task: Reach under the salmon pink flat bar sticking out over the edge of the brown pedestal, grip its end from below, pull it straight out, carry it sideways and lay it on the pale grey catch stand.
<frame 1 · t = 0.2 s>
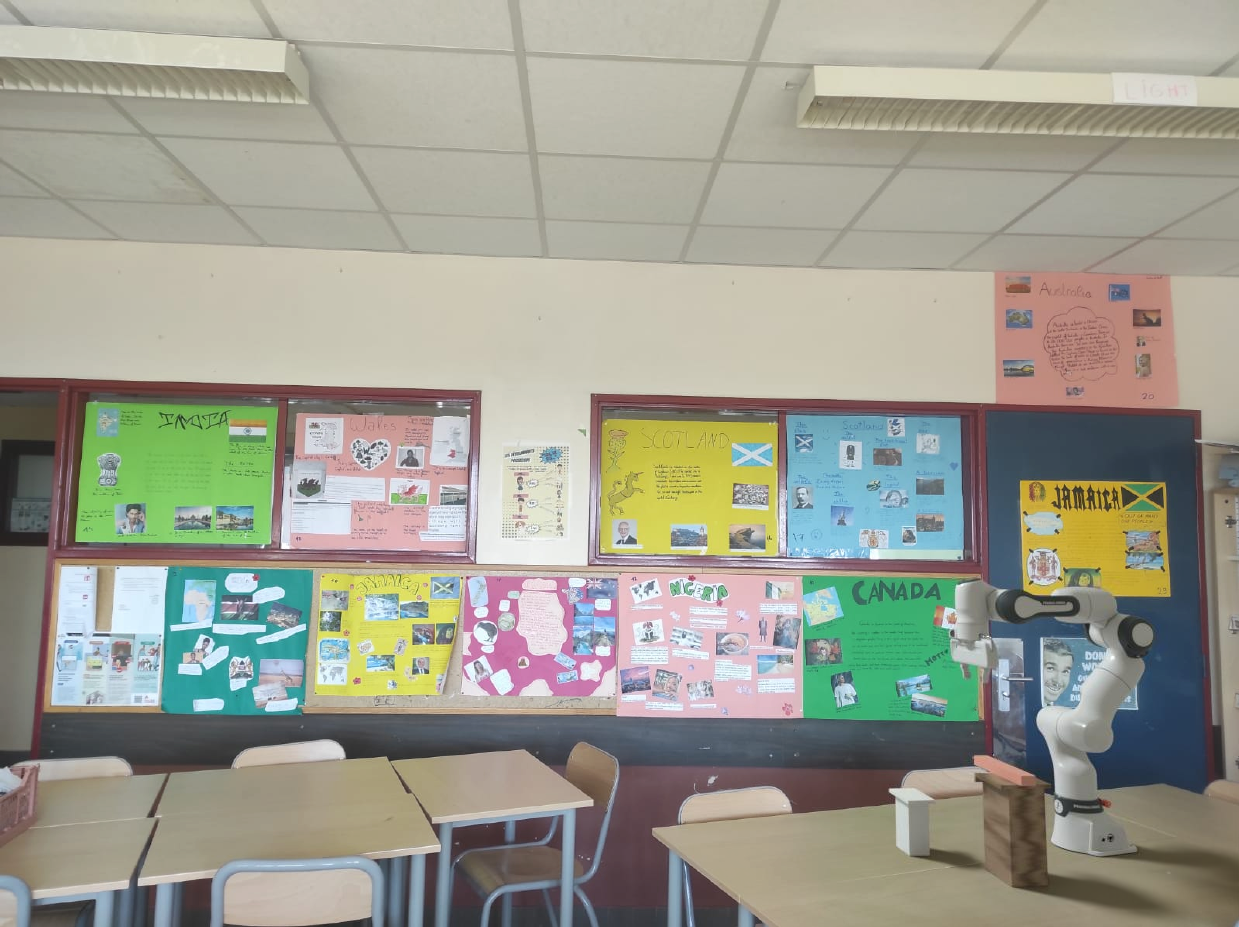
hand: (975, 680, 243), 47 cm above the table, fingers open, 8 cm apart
brown pedestal: (1015, 877, 215), on the table
salmon pink flat bar: (1003, 774, 222), point 25 cm above the table, touching brown pedestal
catch stand: (912, 850, 234), on the table
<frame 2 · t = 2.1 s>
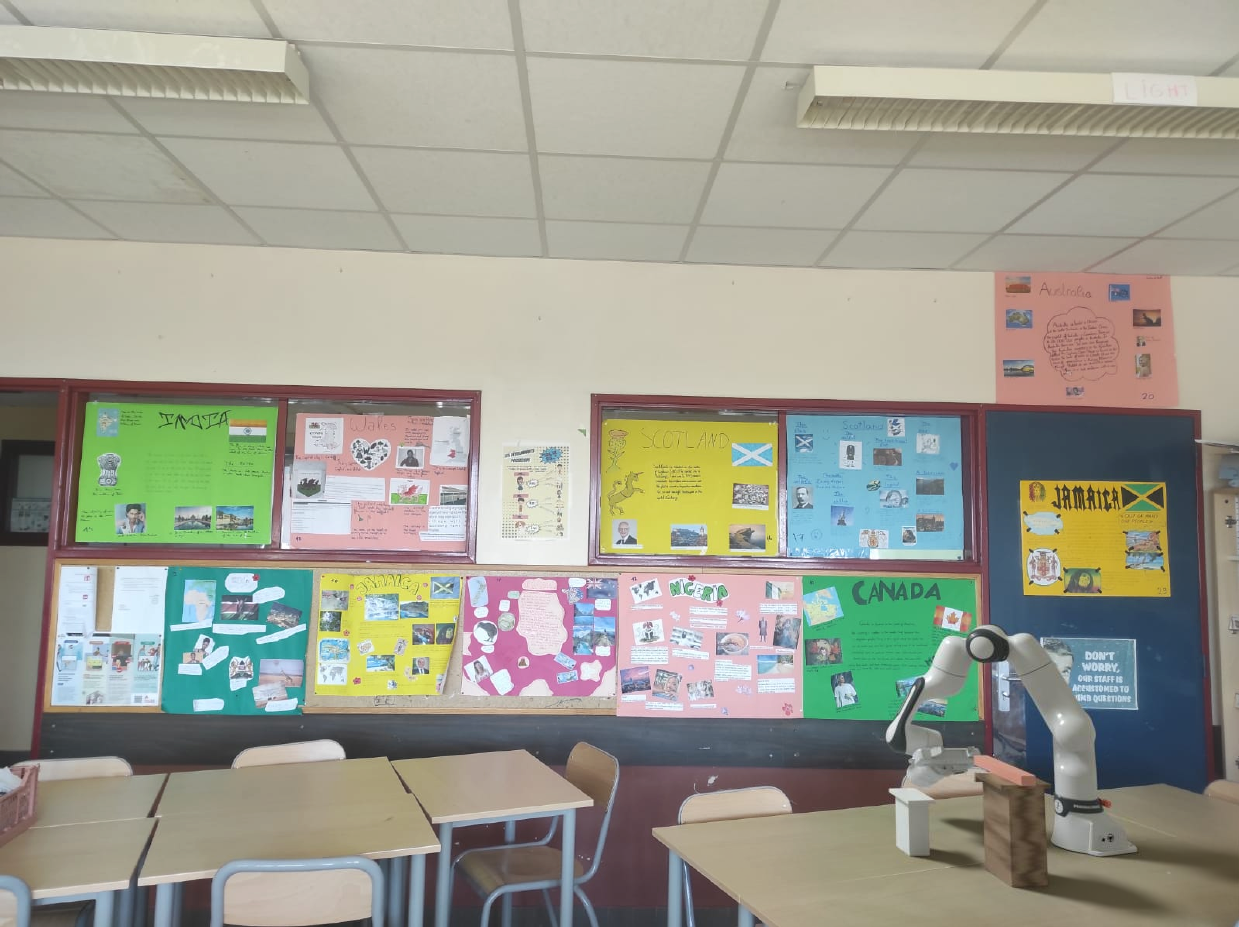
hand: (957, 749, 245), 26 cm above the table, fingers open, 8 cm apart
nothing on the table moved.
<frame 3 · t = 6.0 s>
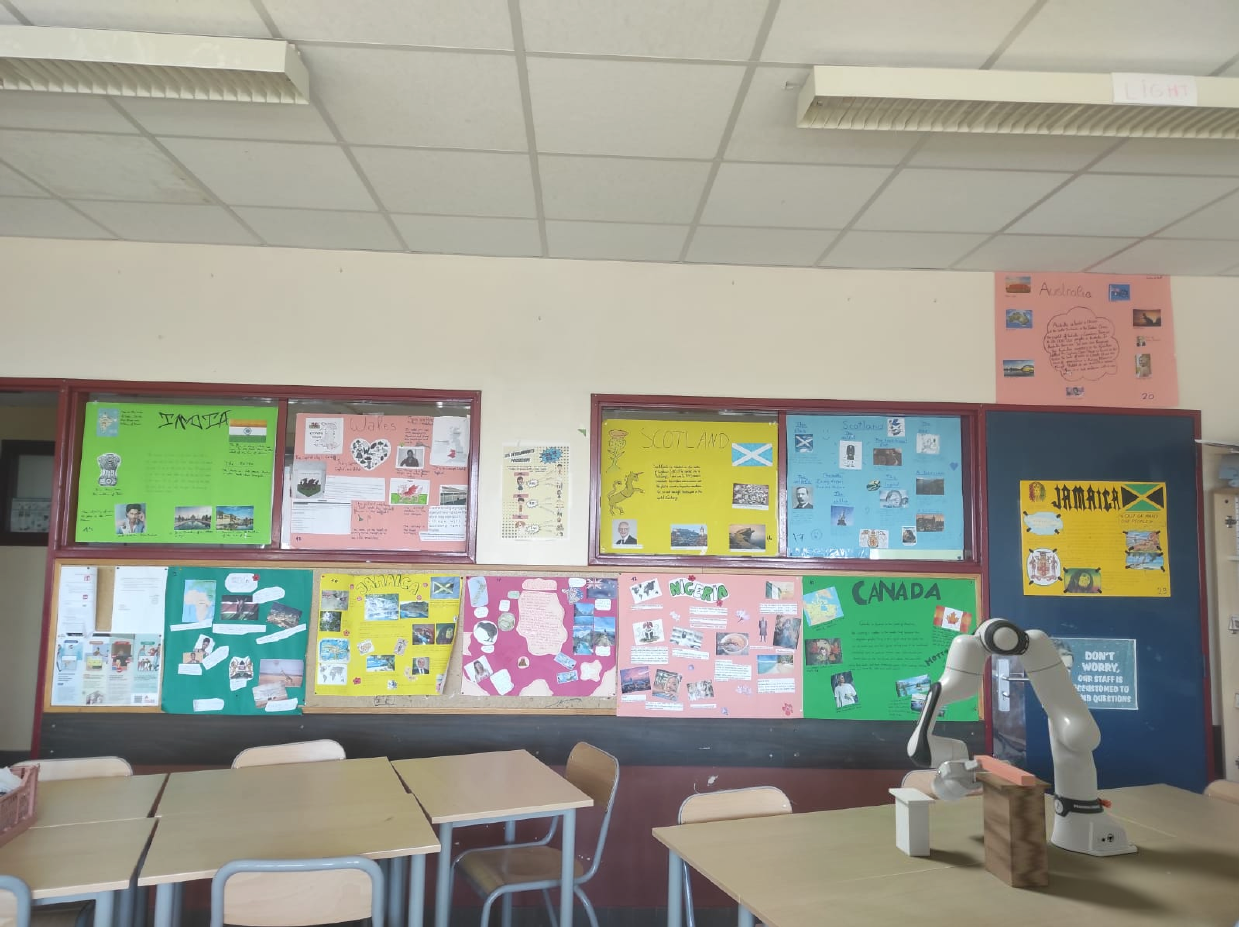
hand: (988, 761, 229), 27 cm above the table, fingers closed on salmon pink flat bar, 4 cm apart
salmon pink flat bar: (1003, 774, 222), point 25 cm above the table, touching brown pedestal, gripper
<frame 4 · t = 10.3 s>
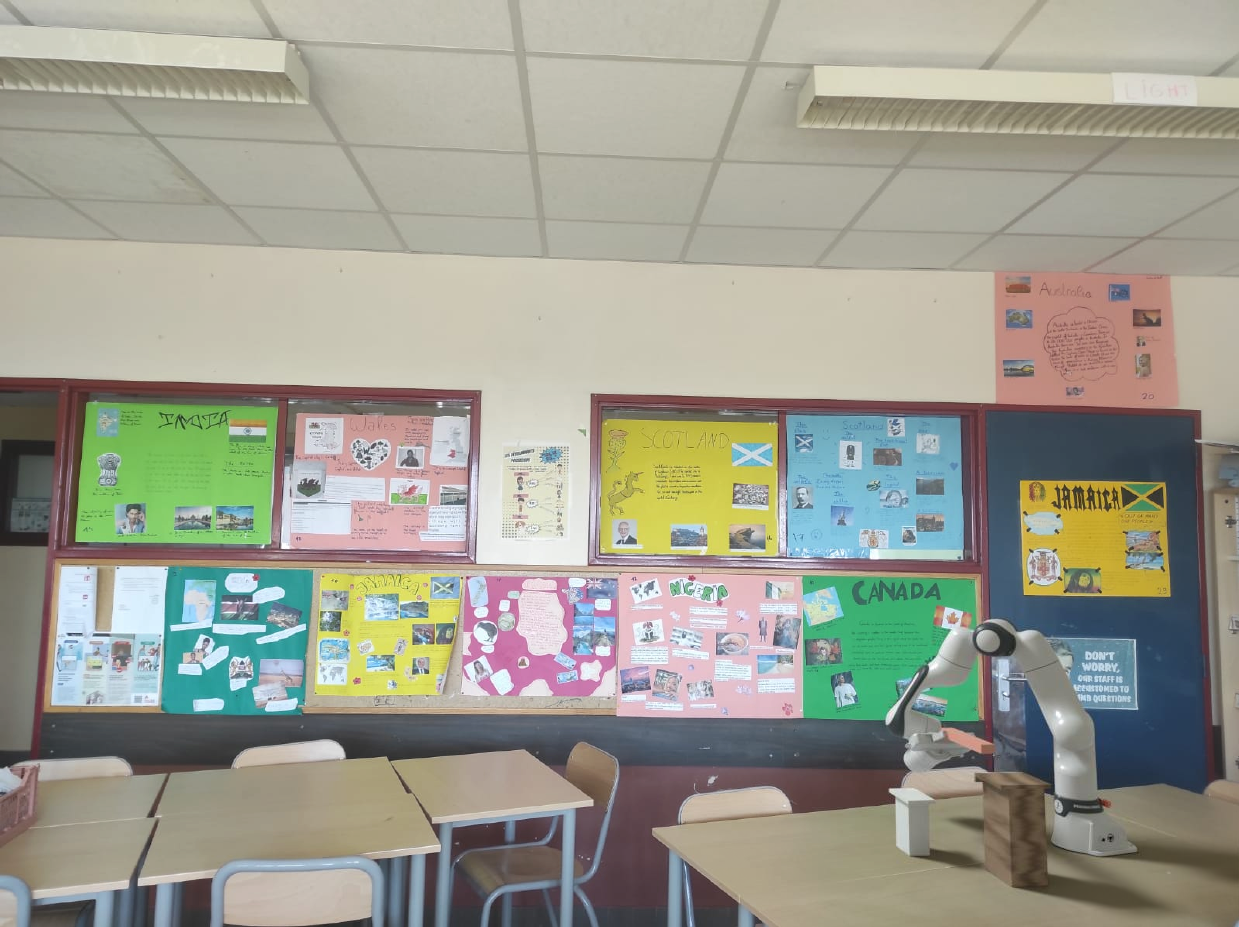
hand: (953, 733, 248), 31 cm above the table, fingers closed on salmon pink flat bar, 4 cm apart
salmon pink flat bar: (966, 744, 240), point 29 cm above the table, touching gripper
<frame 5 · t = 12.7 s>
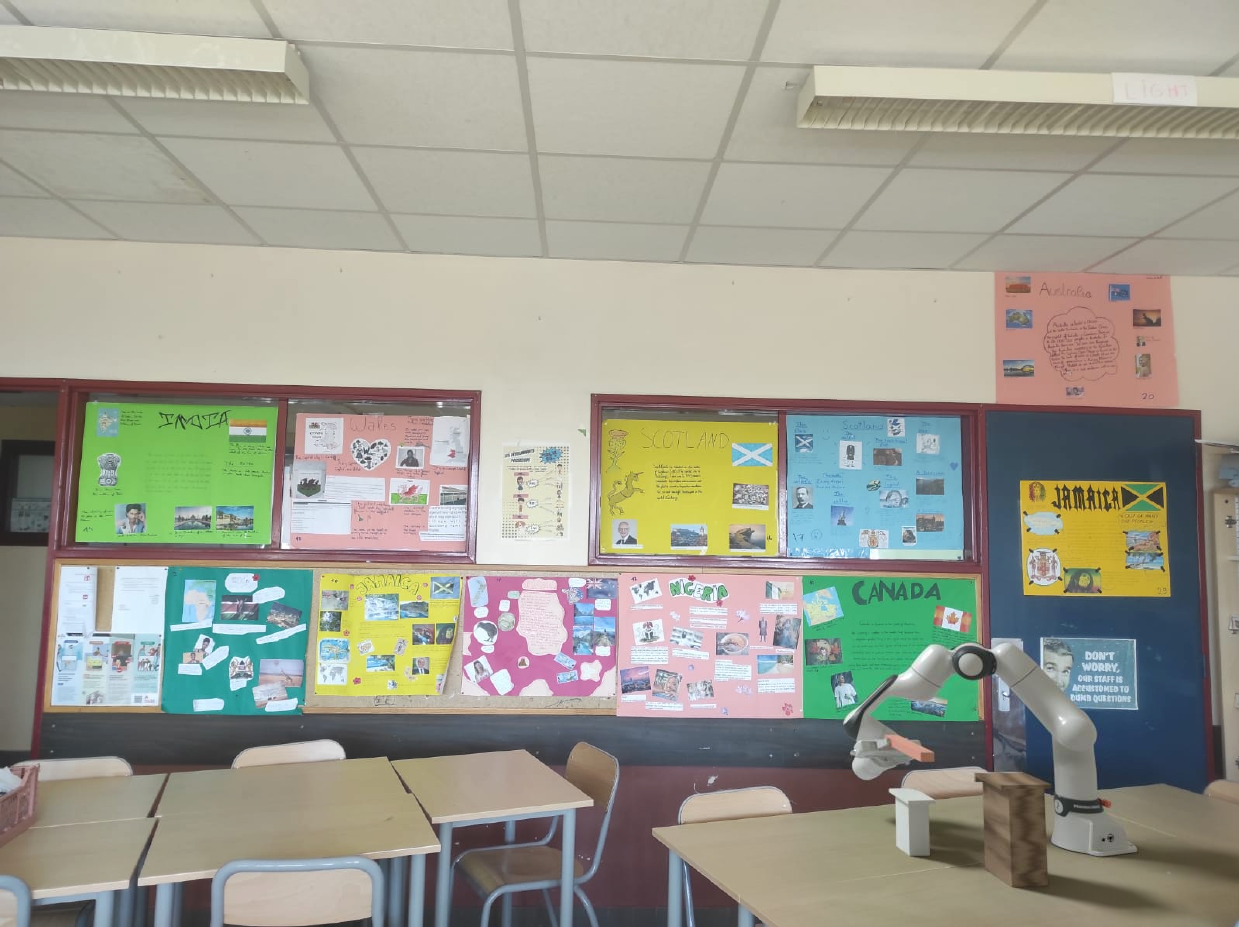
hand: (897, 740, 245), 29 cm above the table, fingers closed on salmon pink flat bar, 4 cm apart
salmon pink flat bar: (908, 752, 238), point 27 cm above the table, touching gripper
when the fingers open (19 cm above the table, at t = 14.7 s): salmon pink flat bar drops 1 cm, resting on catch stand.
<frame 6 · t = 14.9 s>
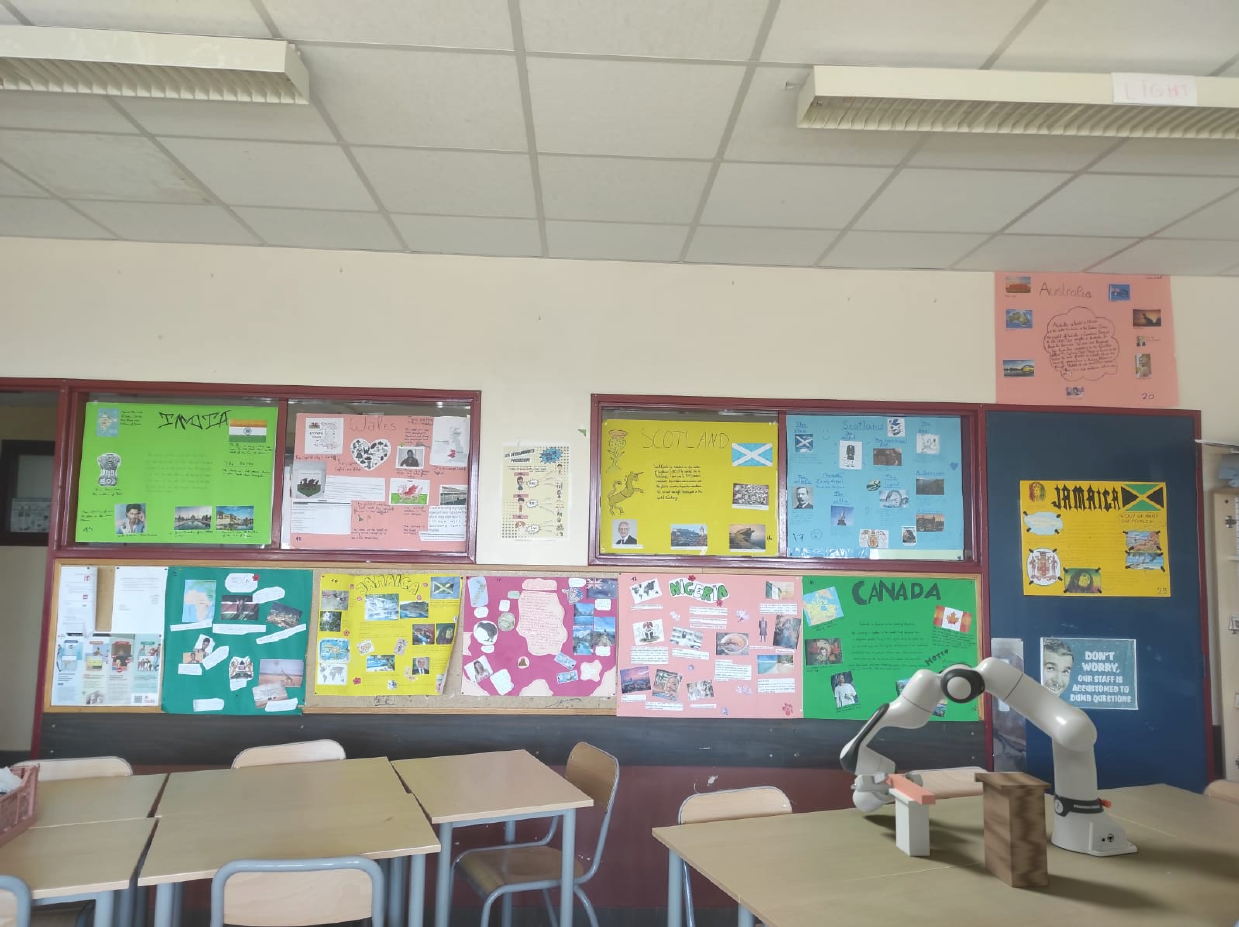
hand: (898, 775, 244), 19 cm above the table, fingers open, 6 cm apart
salmon pink flat bar: (909, 793, 237), point 15 cm above the table, touching catch stand
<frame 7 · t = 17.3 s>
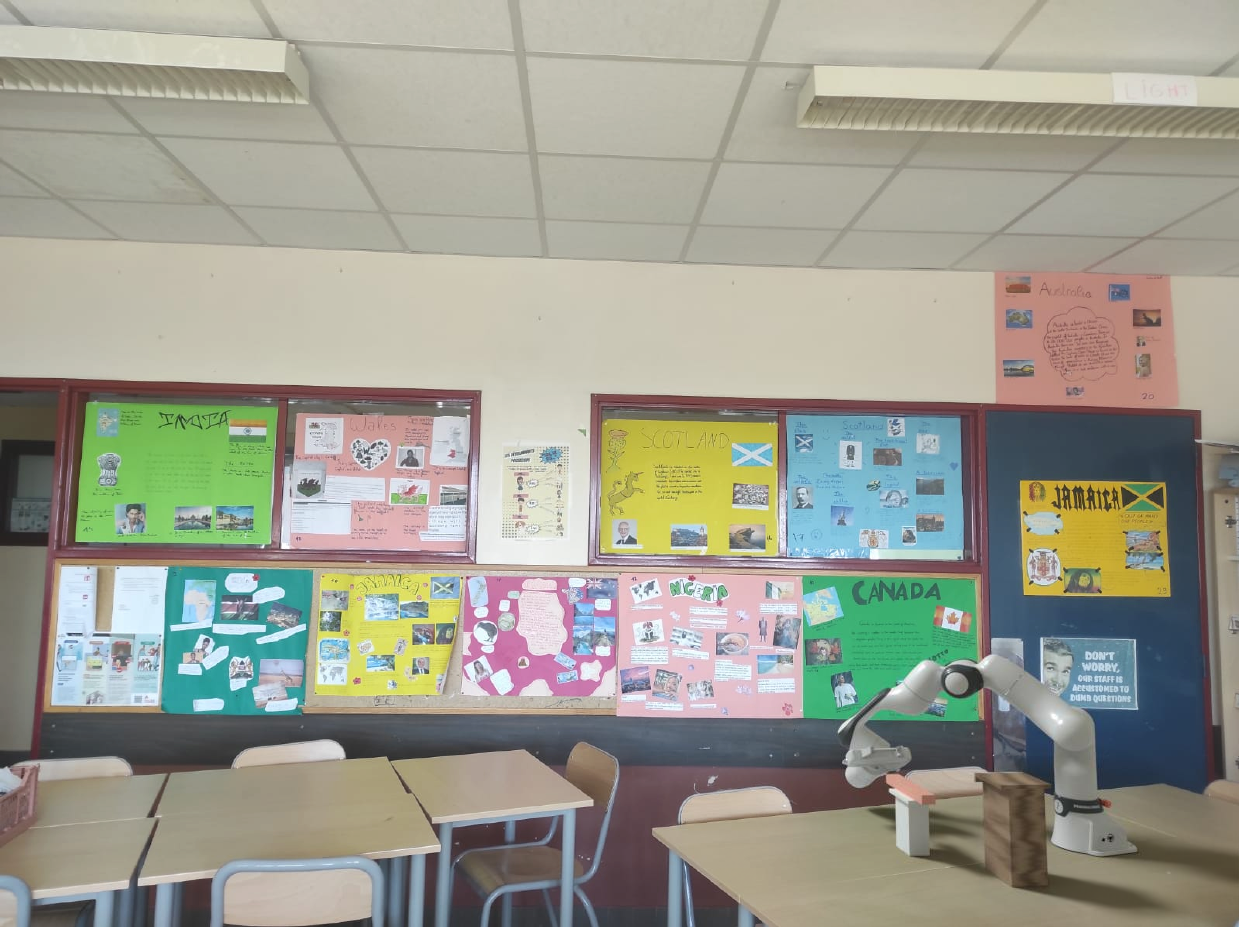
hand: (886, 748, 254), 24 cm above the table, fingers open, 8 cm apart
nothing on the table moved.
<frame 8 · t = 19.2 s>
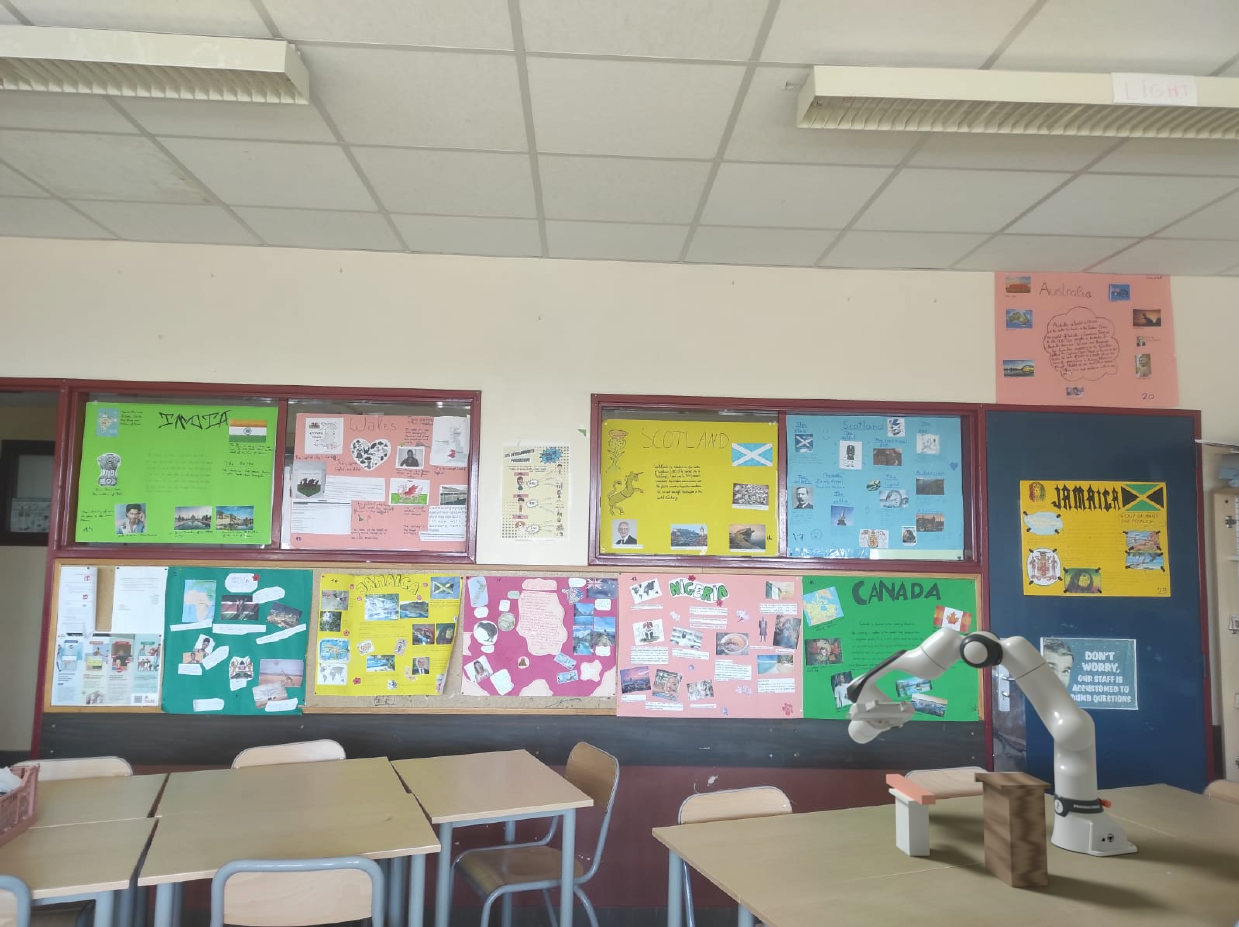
hand: (891, 702, 254), 38 cm above the table, fingers open, 8 cm apart
nothing on the table moved.
at the end: salmon pink flat bar touching catch stand; salmon pink flat bar inside the target area (0.1 cm from its centre), point 15.5 cm above the table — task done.
